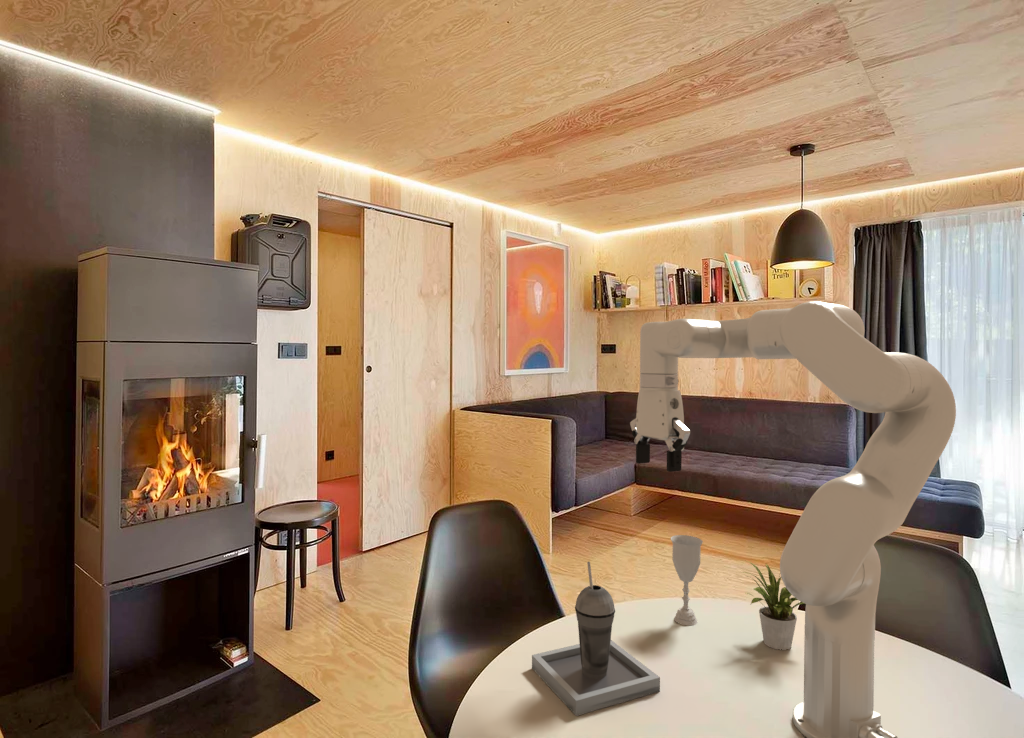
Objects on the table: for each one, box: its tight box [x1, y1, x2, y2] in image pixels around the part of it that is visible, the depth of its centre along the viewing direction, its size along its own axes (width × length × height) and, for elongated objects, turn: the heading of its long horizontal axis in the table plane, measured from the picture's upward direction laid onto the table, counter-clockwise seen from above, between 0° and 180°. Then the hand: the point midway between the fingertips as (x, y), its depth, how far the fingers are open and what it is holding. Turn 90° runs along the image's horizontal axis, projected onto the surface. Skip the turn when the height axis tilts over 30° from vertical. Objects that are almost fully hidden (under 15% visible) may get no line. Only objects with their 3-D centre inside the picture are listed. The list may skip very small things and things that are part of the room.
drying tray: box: [531, 639, 661, 717], centre depth 105 cm, size 16×17×2 cm
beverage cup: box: [574, 561, 616, 679], centre depth 104 cm, size 7×7×20 cm
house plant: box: [741, 560, 806, 651], centre depth 119 cm, size 14×14×16 cm
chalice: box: [670, 534, 704, 626], centre depth 129 cm, size 7×7×18 cm
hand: (657, 466), depth 117 cm, fingers open, 9 cm apart
